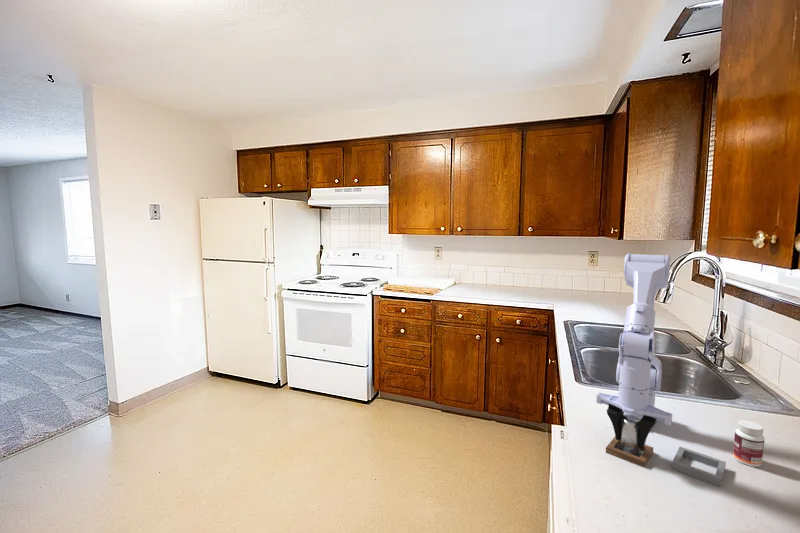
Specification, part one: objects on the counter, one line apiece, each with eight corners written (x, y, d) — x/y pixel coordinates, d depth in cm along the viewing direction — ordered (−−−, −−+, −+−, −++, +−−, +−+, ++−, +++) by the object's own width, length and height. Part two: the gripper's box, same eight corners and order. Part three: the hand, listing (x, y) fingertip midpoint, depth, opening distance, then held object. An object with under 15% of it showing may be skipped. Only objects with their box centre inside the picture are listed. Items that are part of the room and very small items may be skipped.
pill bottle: (732, 451, 87) (735, 416, 86) (760, 459, 84) (764, 423, 83) (732, 461, 83) (736, 425, 82) (762, 470, 80) (766, 432, 79)
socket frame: (616, 439, 92) (616, 434, 92) (653, 452, 87) (653, 447, 86) (605, 452, 87) (605, 447, 87) (644, 467, 81) (644, 462, 81)
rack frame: (679, 452, 87) (679, 446, 86) (725, 468, 81) (725, 461, 81) (671, 468, 81) (672, 461, 81) (720, 486, 75) (721, 479, 75)
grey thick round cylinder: (622, 445, 89) (624, 413, 89) (641, 452, 87) (644, 419, 86) (616, 452, 87) (618, 419, 86) (636, 460, 84) (639, 425, 83)
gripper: (593, 380, 87) (589, 436, 89) (668, 401, 77) (663, 464, 78) (603, 372, 92) (600, 425, 94) (676, 391, 82) (671, 450, 83)
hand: (629, 442), depth 86 cm, fingers closed on grey thick round cylinder, 4 cm apart
